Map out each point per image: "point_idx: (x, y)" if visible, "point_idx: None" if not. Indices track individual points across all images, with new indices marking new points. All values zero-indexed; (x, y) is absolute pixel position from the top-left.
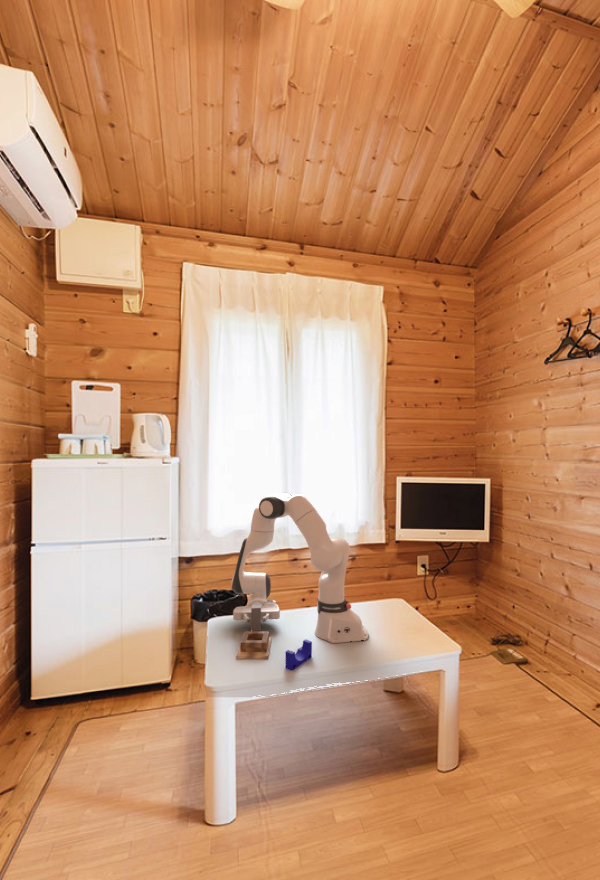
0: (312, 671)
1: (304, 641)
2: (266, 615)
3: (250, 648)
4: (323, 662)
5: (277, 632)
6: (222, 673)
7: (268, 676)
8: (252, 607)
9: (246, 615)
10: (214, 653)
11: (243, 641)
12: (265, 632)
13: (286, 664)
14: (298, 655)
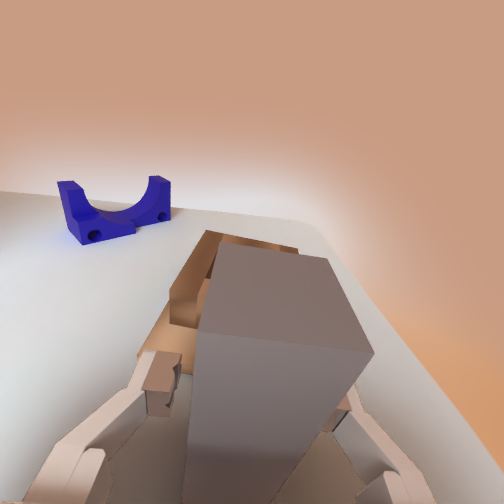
0: (115, 203)
1: (80, 187)
2: (117, 404)
3: None
4: (58, 211)
5: (17, 497)
6: (307, 237)
7: (214, 214)
8: (319, 266)
9: (383, 474)
10: (373, 303)
11: (288, 250)
12: (192, 283)
13: (168, 210)
14: (116, 219)
